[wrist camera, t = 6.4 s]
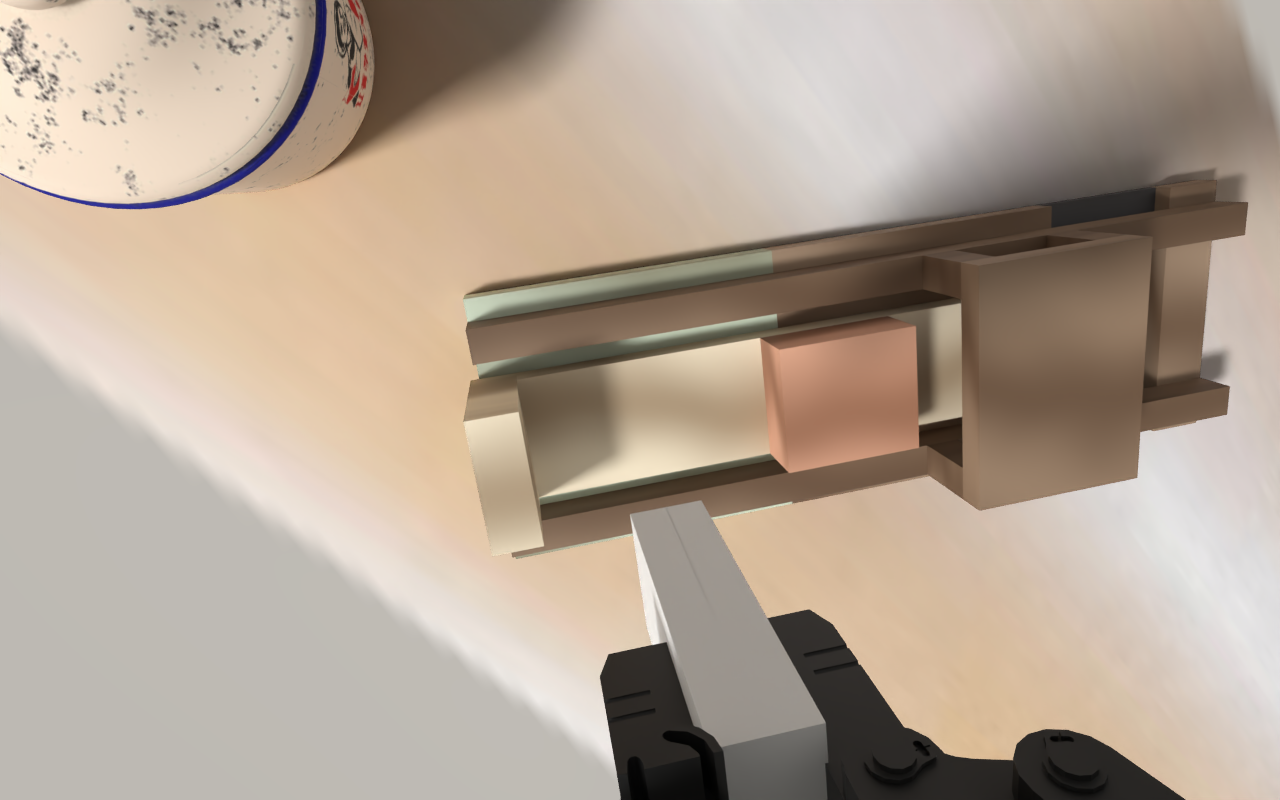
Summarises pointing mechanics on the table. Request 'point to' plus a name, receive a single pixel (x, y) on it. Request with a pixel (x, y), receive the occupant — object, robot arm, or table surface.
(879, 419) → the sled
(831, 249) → the tunnel board
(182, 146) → the teacup with lid
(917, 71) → the table surface
